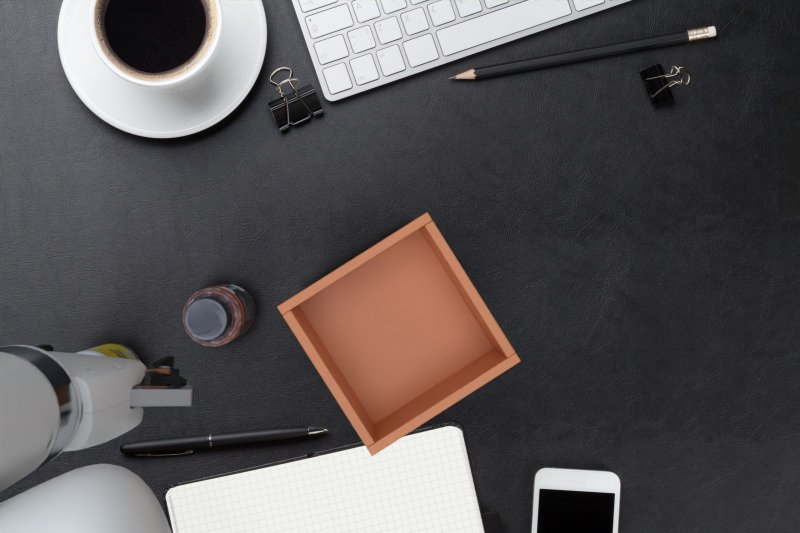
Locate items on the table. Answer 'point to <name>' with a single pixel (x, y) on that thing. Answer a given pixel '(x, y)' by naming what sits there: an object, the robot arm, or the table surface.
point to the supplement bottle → (218, 314)
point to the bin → (399, 333)
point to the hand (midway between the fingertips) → (108, 369)
